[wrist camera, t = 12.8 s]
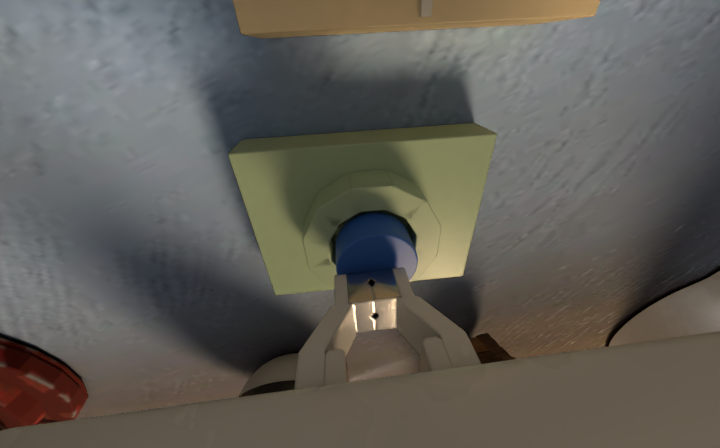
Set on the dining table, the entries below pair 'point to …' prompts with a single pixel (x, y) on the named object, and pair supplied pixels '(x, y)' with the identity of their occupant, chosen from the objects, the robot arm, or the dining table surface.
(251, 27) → the dial panel
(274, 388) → the pump dispenser
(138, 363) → the dining table surface
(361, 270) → the button
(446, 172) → the button housing
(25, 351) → the hourglass
